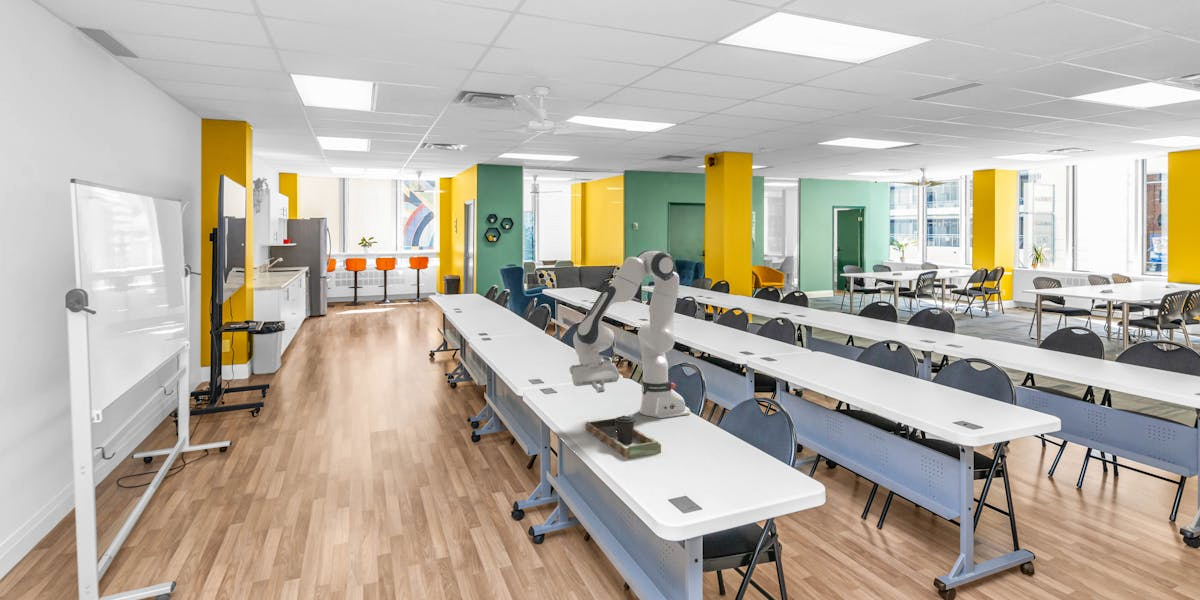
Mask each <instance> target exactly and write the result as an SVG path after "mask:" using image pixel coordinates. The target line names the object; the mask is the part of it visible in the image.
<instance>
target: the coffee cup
mask: <svg viewBox="0 0 1200 600" xmlns="http://www.w3.org/2000/svg"><path fill="white" fill-rule="evenodd" d="M614 421H615V422H616V430H617V437H616V438H617V441H619V442H620V443H622V444H623V445H625V446H631V445H633V444H632V443H633V439H634V438H633V429H635V422H636V419H635V418H634V417H633V416H628V415H621V416H617V417H615V420H614Z"/></svg>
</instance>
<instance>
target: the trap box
mask: <svg viewBox="0 0 1200 600" xmlns="http://www.w3.org/2000/svg"><path fill="white" fill-rule="evenodd" d="M615 418H616V417H615ZM615 418H608V419H602V420H595V421H589V422H585V431H586V430H587V432H588V433H589V432H590V433H589V434H590V435H592V434H593V435H592V436H594V437H595V436H596V437H595V438H596V439H598V440H599V441H601V442H602V443H604V444H606V446H609V447H610V448H611V449H613V450H614V451H616V452H617V453H618V454H620V455H622V456H623V457H625V459H632V458H636V457H637V458H638V457H641V456H646V455H648V456H649V455H653V454H659V453H661V452H662V443H660V442H659V441H657V440H656V439H654V438H652V437H651V436H649V435H647V434H644V433H642V432H640V431H639V430H638V429H635V428H634V429H633V438H632V439H635V440H636V441H639V443H638V444H630V445H623V444H622V443H620V442H619V441H618V439H615V438H614V437H613V438H611V437H610V436H608V435H607V434H605V433H604V432H602V431H601V430H599V429H600V428H601V429H604V428H610V427H613V426H614V427H615V426H616V422H615V421H614V420H615Z"/></svg>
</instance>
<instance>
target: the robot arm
mask: <svg viewBox="0 0 1200 600" xmlns="http://www.w3.org/2000/svg"><path fill="white" fill-rule="evenodd" d="M647 276H649V277H652V278H653V280H654V285H653V289H652V294H651V299H650V304H649V306H648V307H649V308H648V313H649V323H645V324H643V325H642V326H640V327H639V329H638V331H637V338H638V341H639V348H640V354H641V359H642V381H641V393H642V395H641V396H642V397H641V403H640V407H639V410H638V412H639V413H640V414H642V415H644V416H646V417H653V418H654V417H655V418H658V419H664V418H665V419H666V418H672V417H679V416H685V415H686V416H687V415H690V414H691V409H690V408H689V407H687V406H686V402H685V399H684V397H683V396H682V395H680V394H679V393H678V392H676V390H674V388H676V384H675V383H674V382H672V381H669V362H668V360H667V356H666V353H668V352H670V351H671V350H672V349H673V348H674V346H675V337H674V316H675V310H676V305H677V301H678V296H679V291H680V289H679V288H680V275H679V274H678V273H677V272H676V262H675V259H674V257H673V256H672V255H671V254H669V253H667V252H664V251H660V250H659V251H658V250H644V251H642V252H640V253H639V254H638V255H637V256H628V257H627V258H626V259H625V260H624V261H623V263H622V264H621V266H620V267H619V269H618V271H617V272H616V274H615V276H614V279H613V280H612V282H611V283H610V284H609V285H608V286H606V287H605V288H604V289H603V290H602V291H601V293H600V294H599V296H598V297H597V299H596V300H595V301H594V303H593V305H592V307H591V309H590V310H589V312H588V313H587V314H586V316H585V317H584V318H583V319H582V320H581V321H580V323H579V324H578V326H577V329H576V331H575V333H574V334H573V336H572V337H573V338H572V341H573V347H574V349H575V353H576V355H577V356H578V362H579V364H573V365H571V366H570V367H569V373H570V374H571V380H572V383H573V385H574V386H575V387H582V386H590V385H591V387H592V388H593V389H594V390H595V391H596V393H597V394H599V393H605V384H609V383H616V382H618V380H619V379H620V372H619V371H618V368H617V366H616V364H614V363H613V358H612V357H610V356H605V355H601V354H600V353H602V352H605V351H606V350H608V349H610V348H611V347H612V346H613V345H614V342H615V333H614V331H613V330H612V329H611V328H609V327H607V326H605V325H603V324H601V320H603V318H604V316H605V314H606V313H607V311H608V309H609V308H610V307H611V306H613V304H616V303H625V302H629V301H631V300H633V298H634V297H635V296H636V294H637V292H638V291H639V289H640V286H641V283H642V281H643V280H644V279H645V278H646V277H647ZM598 385H599V386H598Z"/></svg>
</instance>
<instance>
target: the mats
mask: <svg viewBox="0 0 1200 600" xmlns="http://www.w3.org/2000/svg"><path fill="white" fill-rule="evenodd" d="M599 430H601V431H602V432H604V433H605V434H607V435H608V436H610V437H611V438H613V439H614V438H617V432H616V431H617V430H616V427H615V426H614V427H608V428H601V429H599Z"/></svg>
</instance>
